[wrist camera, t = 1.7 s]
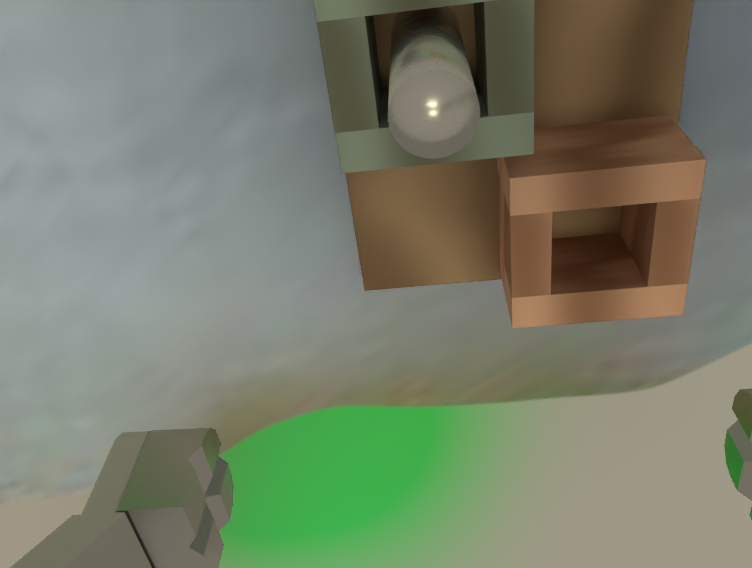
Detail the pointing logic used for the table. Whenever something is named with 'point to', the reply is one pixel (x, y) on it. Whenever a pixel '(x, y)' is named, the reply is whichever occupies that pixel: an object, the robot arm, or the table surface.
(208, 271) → the table surface
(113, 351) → the table surface
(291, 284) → the table surface
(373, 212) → the dock board
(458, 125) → the metal pin
